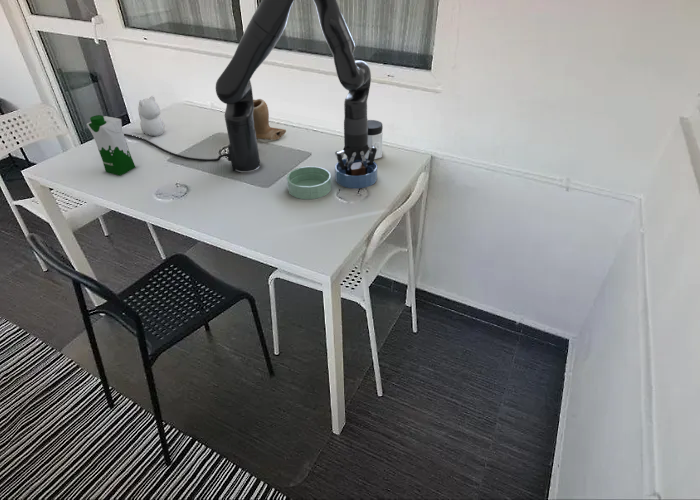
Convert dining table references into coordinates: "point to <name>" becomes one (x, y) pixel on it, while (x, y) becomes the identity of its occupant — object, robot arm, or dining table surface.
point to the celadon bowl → (309, 182)
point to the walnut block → (357, 169)
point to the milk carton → (111, 144)
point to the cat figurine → (150, 117)
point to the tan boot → (264, 122)
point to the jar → (375, 137)
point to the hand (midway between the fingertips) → (356, 177)
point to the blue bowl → (356, 181)
